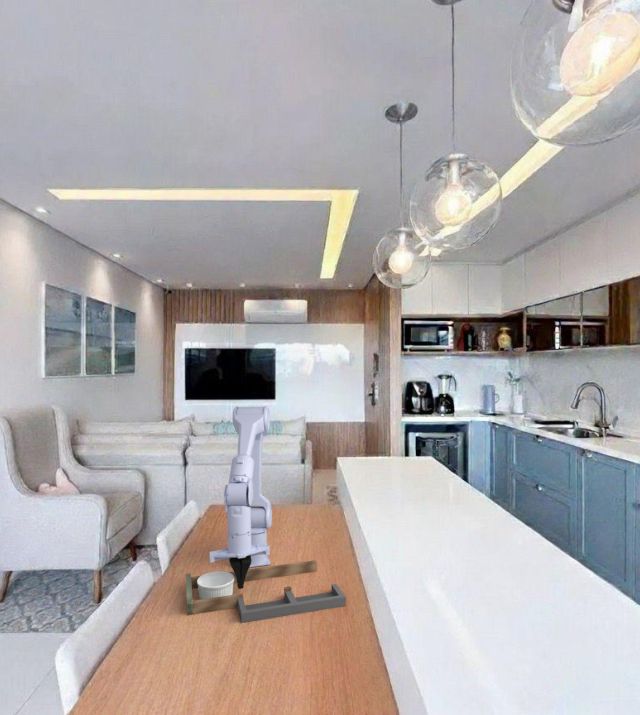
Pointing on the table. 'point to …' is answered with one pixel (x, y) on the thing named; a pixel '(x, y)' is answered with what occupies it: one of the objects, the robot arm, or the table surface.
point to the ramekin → (215, 584)
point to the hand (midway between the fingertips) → (240, 587)
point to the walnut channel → (252, 574)
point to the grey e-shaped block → (291, 605)
